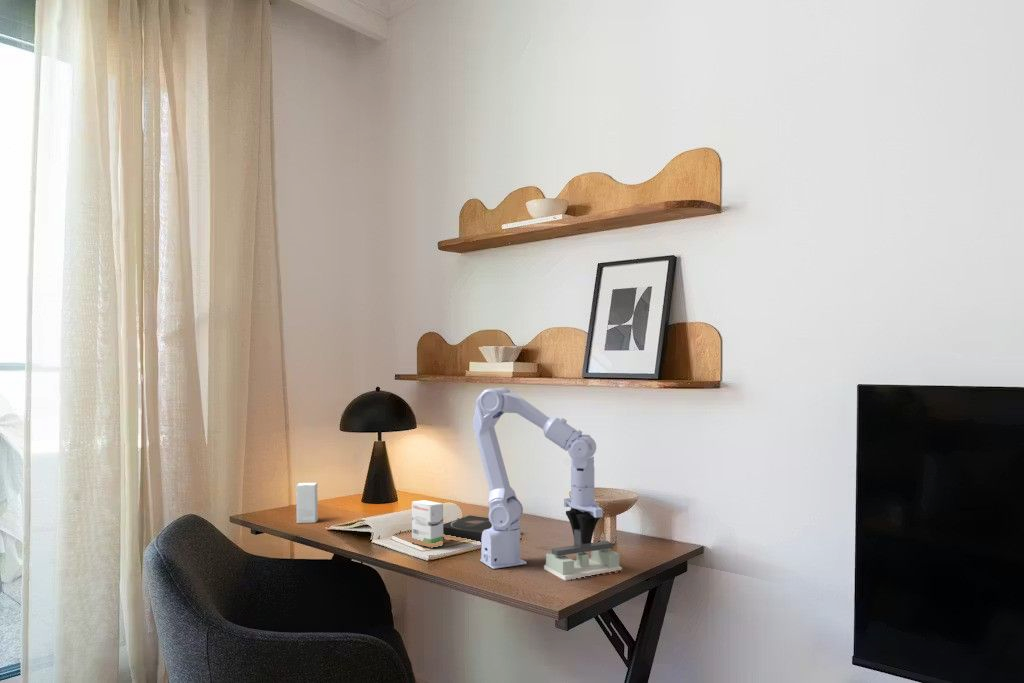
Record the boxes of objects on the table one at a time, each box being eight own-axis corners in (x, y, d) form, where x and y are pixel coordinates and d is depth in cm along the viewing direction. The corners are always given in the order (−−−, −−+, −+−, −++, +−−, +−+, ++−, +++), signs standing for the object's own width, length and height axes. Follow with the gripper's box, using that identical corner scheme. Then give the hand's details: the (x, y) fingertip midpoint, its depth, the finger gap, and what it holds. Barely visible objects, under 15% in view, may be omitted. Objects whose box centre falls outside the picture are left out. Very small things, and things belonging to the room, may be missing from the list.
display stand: (565, 580, 159) (565, 563, 159) (544, 569, 168) (544, 552, 168) (621, 571, 166) (621, 554, 166) (598, 560, 175) (598, 544, 175)
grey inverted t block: (557, 556, 162) (557, 535, 163) (551, 553, 165) (551, 532, 165) (613, 548, 170) (613, 527, 170) (606, 545, 172) (606, 525, 172)
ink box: (444, 546, 189) (444, 502, 190) (430, 549, 186) (430, 505, 186) (424, 540, 195) (424, 498, 195) (410, 543, 191) (410, 501, 192)
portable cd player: (467, 528, 212) (467, 515, 212) (515, 535, 203) (515, 521, 203) (435, 539, 197) (435, 526, 198) (485, 548, 189) (485, 533, 189)
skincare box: (318, 520, 220) (318, 482, 221) (315, 523, 216) (316, 484, 216) (298, 520, 219) (298, 482, 220) (295, 523, 215) (295, 484, 215)
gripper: (613, 489, 163) (613, 546, 163) (580, 479, 176) (580, 533, 176) (588, 491, 160) (588, 550, 159) (556, 481, 173) (556, 536, 172)
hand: (582, 541), depth 167 cm, fingers closed on grey inverted t block, 3 cm apart
